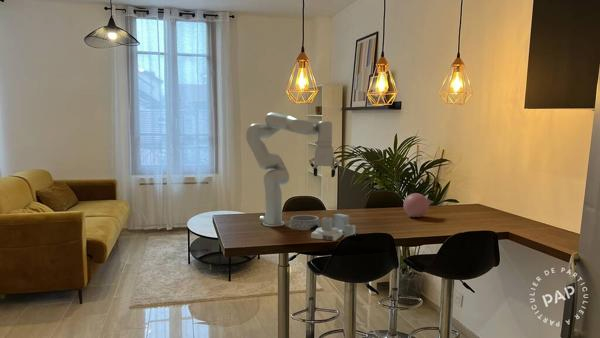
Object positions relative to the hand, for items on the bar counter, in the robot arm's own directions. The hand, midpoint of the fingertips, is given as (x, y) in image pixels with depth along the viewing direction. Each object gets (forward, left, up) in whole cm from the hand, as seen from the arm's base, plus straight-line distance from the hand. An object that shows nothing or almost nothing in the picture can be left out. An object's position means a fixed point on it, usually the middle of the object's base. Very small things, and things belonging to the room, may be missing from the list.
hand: (324, 176), depth 227 cm
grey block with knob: (+5, -8, -27) cm, 28 cm away
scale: (+5, -8, -30) cm, 32 cm away
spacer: (+16, -4, -30) cm, 34 cm away
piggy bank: (+43, +61, -31) cm, 81 cm away
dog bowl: (-14, +8, -31) cm, 35 cm away
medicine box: (+8, +7, -31) cm, 32 cm away
